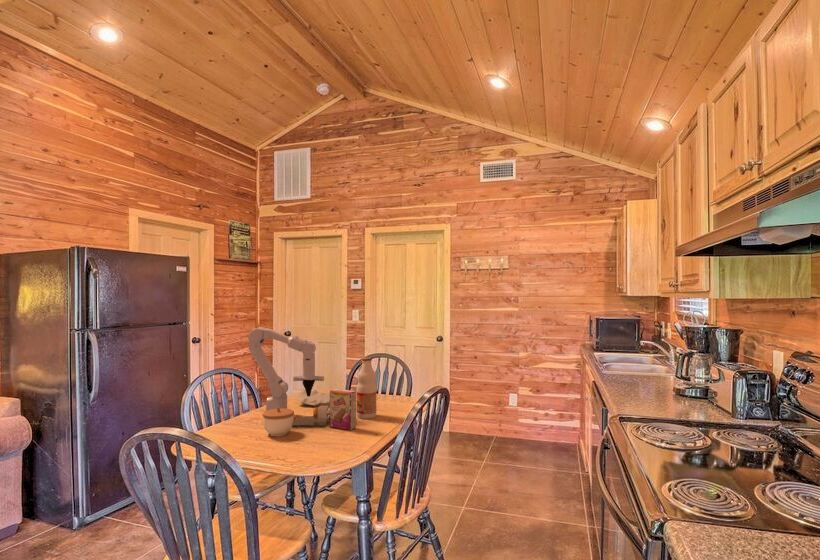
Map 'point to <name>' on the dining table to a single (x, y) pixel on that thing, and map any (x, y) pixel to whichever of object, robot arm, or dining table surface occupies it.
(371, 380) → the fruit juice
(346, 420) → the candy bar box
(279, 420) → the lidded bowl
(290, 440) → the dining table surface
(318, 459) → the dining table surface
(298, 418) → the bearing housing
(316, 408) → the shaft
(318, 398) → the food container
